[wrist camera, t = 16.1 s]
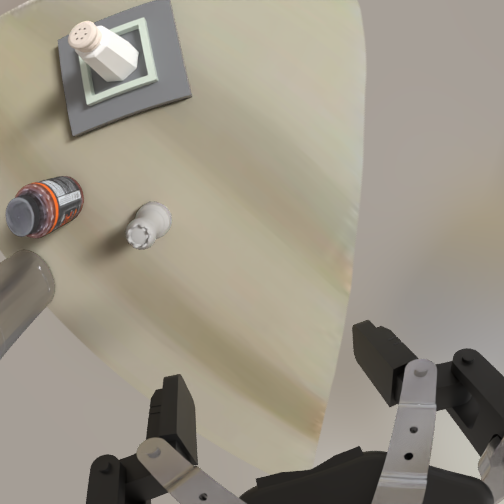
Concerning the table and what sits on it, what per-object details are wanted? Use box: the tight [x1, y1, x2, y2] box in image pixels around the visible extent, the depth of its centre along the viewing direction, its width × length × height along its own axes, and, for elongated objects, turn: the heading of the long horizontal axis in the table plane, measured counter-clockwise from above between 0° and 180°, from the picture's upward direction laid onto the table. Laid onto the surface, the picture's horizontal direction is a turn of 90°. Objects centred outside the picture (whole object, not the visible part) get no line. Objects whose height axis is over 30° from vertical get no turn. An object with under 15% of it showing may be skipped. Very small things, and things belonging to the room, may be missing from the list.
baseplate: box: [58, 0, 192, 136], centre depth 29 cm, size 15×14×3 cm
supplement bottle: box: [6, 176, 84, 238], centre depth 29 cm, size 6×6×11 cm
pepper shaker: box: [68, 21, 139, 82], centre depth 24 cm, size 5×5×11 cm
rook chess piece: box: [125, 202, 172, 250], centre depth 33 cm, size 4×4×8 cm
